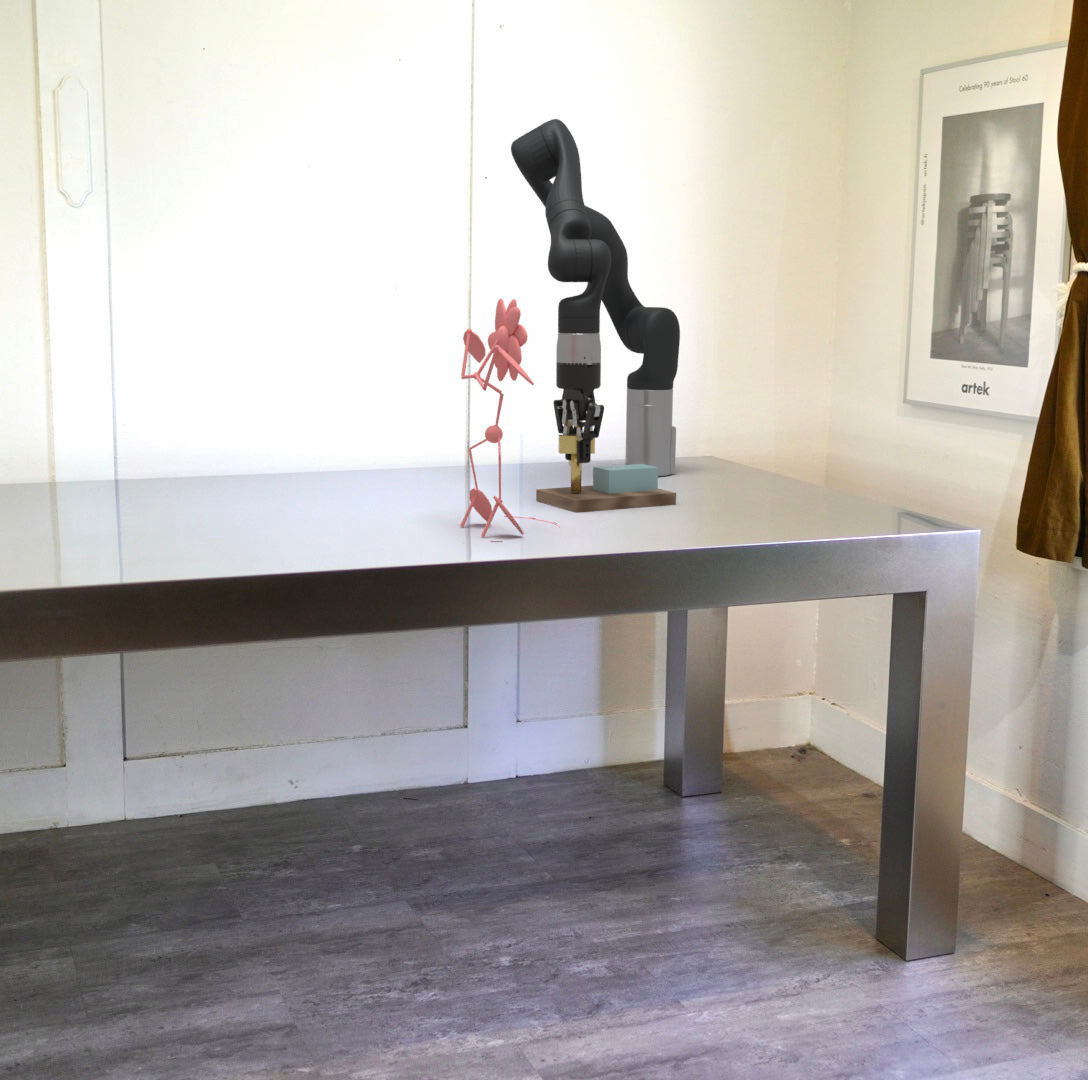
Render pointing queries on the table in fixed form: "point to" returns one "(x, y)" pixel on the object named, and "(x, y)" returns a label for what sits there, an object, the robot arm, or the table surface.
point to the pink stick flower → (505, 357)
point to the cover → (625, 478)
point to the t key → (573, 458)
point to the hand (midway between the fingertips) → (577, 460)
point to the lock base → (603, 499)
